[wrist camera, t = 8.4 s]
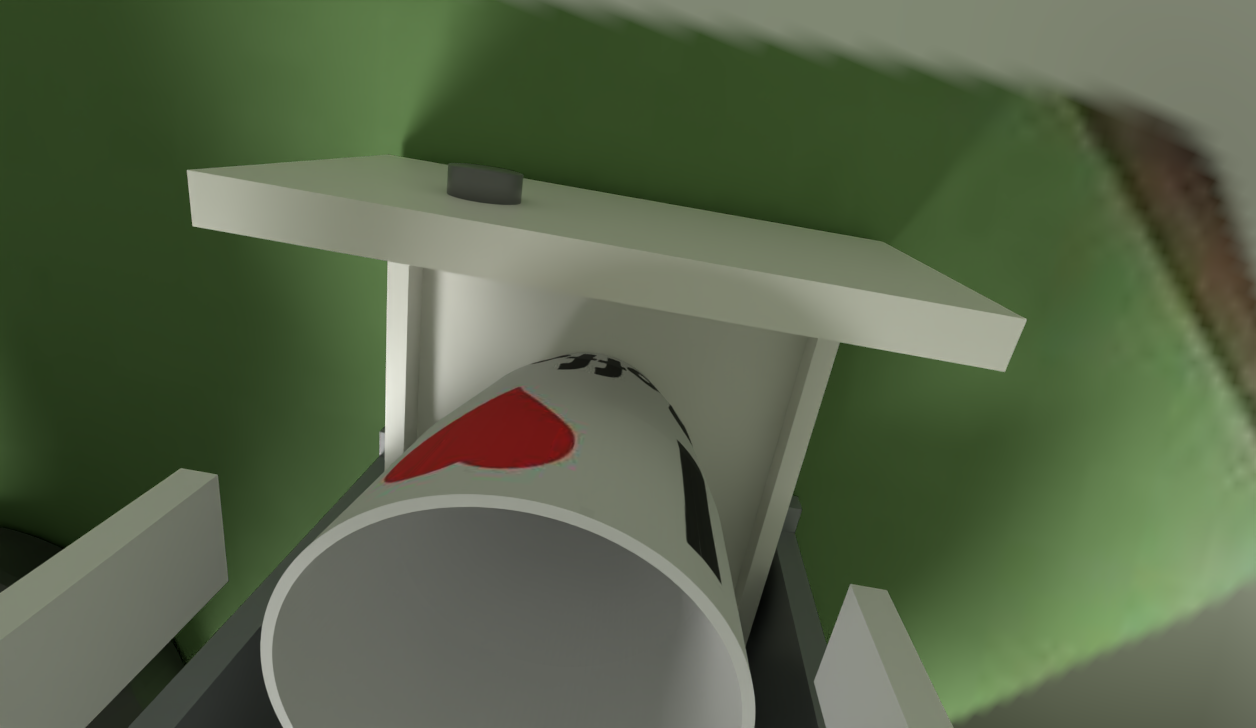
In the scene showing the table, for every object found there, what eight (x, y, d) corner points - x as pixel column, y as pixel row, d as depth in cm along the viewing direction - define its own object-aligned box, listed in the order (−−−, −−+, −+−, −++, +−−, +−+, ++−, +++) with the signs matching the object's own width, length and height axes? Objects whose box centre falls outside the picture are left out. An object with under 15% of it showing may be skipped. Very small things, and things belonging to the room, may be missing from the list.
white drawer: (768, 603, 23) (810, 828, 16) (383, 531, 23) (243, 719, 16) (889, 221, 18) (1041, 286, 10) (389, 133, 18) (183, 134, 10)
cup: (762, 363, 18) (850, 613, 9) (660, 566, 21) (644, 917, 12) (503, 262, 17) (301, 412, 8) (436, 485, 20) (231, 781, 11)
